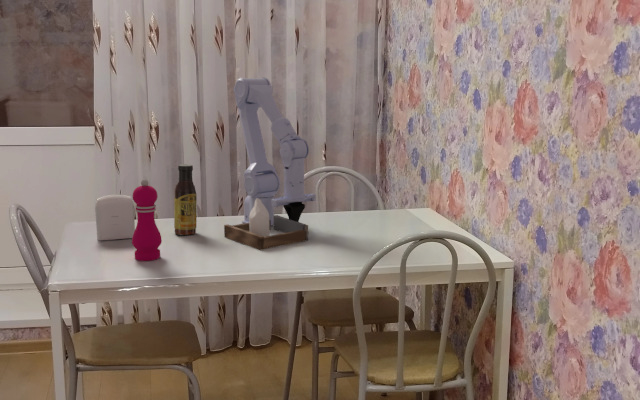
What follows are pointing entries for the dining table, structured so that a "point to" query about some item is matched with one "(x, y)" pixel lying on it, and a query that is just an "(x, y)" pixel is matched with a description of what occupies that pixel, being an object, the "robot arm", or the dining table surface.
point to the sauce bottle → (185, 202)
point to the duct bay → (260, 242)
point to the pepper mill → (146, 224)
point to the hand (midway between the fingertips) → (293, 228)
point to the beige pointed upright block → (259, 219)
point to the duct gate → (287, 224)
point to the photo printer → (114, 217)
